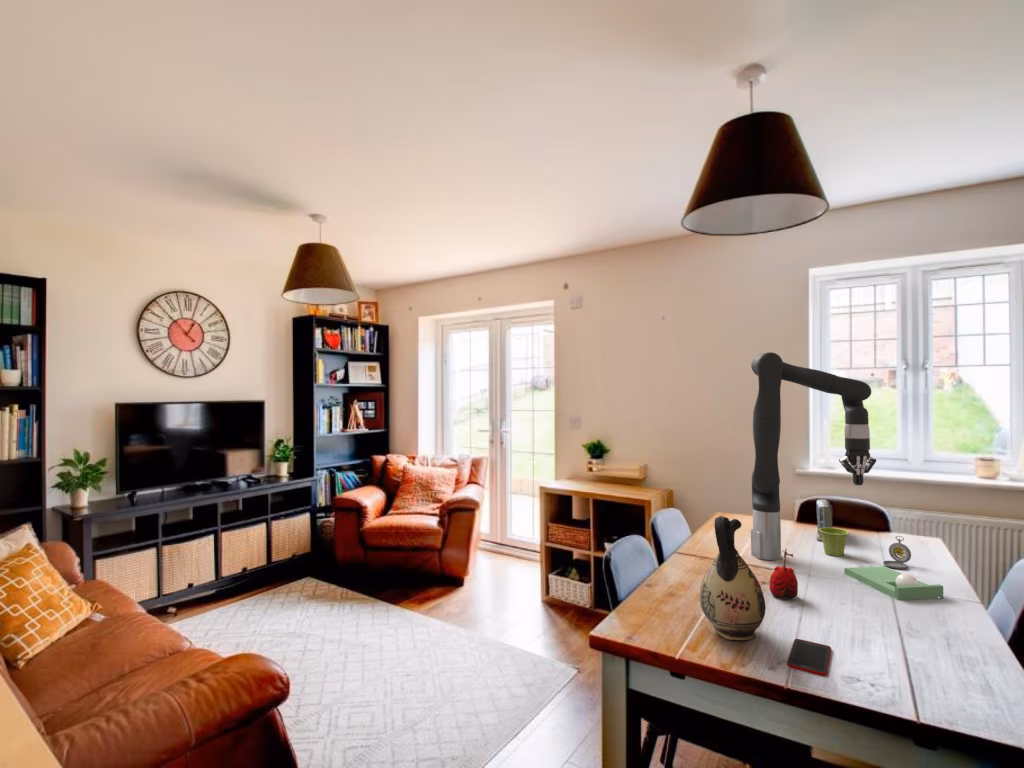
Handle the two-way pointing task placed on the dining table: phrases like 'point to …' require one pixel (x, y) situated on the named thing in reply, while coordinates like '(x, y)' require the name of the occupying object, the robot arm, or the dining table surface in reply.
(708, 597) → the ceramic jug
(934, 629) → the dining table surface
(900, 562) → the pocket watch
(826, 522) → the radio
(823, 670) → the cell phone
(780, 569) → the red clay folk toy
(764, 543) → the robot arm
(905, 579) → the ball
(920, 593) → the green
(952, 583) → the dining table surface
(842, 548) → the plant pot
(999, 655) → the dining table surface
